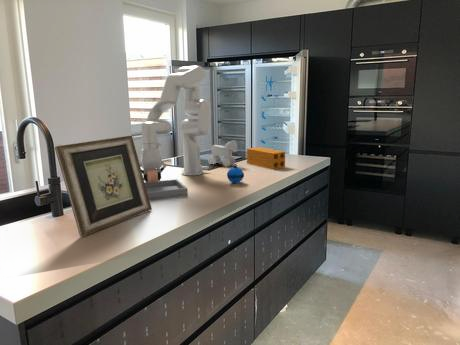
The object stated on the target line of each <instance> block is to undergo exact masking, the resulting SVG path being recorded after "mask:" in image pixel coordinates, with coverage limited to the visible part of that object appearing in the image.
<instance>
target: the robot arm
mask: <svg viewBox="0 0 460 345" xmlns="http://www.w3.org/2000/svg"><path fill="white" fill-rule="evenodd" d="M205 76H206V71H205V69H204V67H202V66H201V65H189V66H182V67H181V66H180V67H179V68H177V70H176V72H175V73H170V74H168V75H167V76H166V77H165V82H164V85H163V89H162V92H161V95H160V98H159V99H158V101H157V102H156V103H155V104H154V105H153V107H151V109H150V111H149V113H148V115H147V119H146V121H143V122H142V123H141V125H140V126H141V139H142V140H141V141H142V149H141V150H140V161H139V164H140V167H141V171H142V175H143V178H144V182H147V174H146V171H147V169H154V168H156V169H158V180H159V181H161V179H162V172H163V171H164V170H165V169H166V168H167V167H168V164H166V162H164V161H163V160H162V154H161V149H160V147H161V146H162V145H161V143H159V142H158V141H159V140H158V139H159V138H158V136H166V135H169V134H170V133H171V132H172V130H173V127H172V124H171V123H170V121H167V120H161V119H160V118H161V117H162V115H163V114H164V113H166V112H167V111H168V110H170V109H172V108H173V107H175V106H176V105H177V102H178V98H179V94H180V93H181V92H180V91H181V90H184V105H183V106H184V108H183V109H184V110H183V112H184V114H185V115H186V116H188V117H197V118H186V119H183V120H181V123H180V126H179V127H180V128H179V129H180V133H181V137H182V152H183V170H181V174H182V175H183V176H201V175H203V174H204V170H209V165H204V166H203V165H201V147H200V146H201V144H200V140H199V137H206V136H208V135H209V134H210V131H211V130H210V129H211V119H212V107H211V103H210V102H209V101H208V100H207V99H204V98H203V99H202V98H201V88H200V86H199V84H201V82H203V81H204V79H205Z"/></svg>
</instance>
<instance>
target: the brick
mask: <svg viewBox="0 0 460 345" xmlns="http://www.w3.org/2000/svg"><path fill="white" fill-rule="evenodd" d="M246 164H248V165H252V166H256V167H260V168H265V169H269V170H278V169H283V168H284V169H285V168H286V151H285V150H284V151H282V150H277V149H271V148H266V147H260V146H259V147H251V148H250V147H249V148H246Z"/></svg>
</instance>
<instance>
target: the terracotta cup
mask: <svg viewBox="0 0 460 345" xmlns="http://www.w3.org/2000/svg"><path fill="white" fill-rule="evenodd" d="M146 174H147V182H155V181H159V180H158V169H157V168H154V169H147V171H146Z"/></svg>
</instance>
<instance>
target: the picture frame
mask: <svg viewBox="0 0 460 345" xmlns="http://www.w3.org/2000/svg"><path fill="white" fill-rule="evenodd" d="M54 150H55V153H56V157H57V160H58V164H59V167H60V171H61V174H62V178H63V180H64V184H65V185H64V186H65V188H66V192H67V196H68V199H69V203H70V205H71V209H72V213H73V217H74V220H75V224H76V227H77V230H78V235H79V237H82V238H83V237H84V236H86V235H90V234H93V233H95V232H97V231H100V230H102V229H105V228H108V227H111V226H113V225H116V224H118V223H120V222H121V223H122V222H123V221H125V220H129V219H131V218H133V217H136V216H139V215H141V214H144V213H146V212H149V211H152V209H153V208H152V205H151V200H149V197H148V193H147V189H146V186H145V180H144V176H143V173H142V171H141V169H142V167H140V161H139V156H138V152H137V150H136V146H135V142H134V139H133V135H126V136H119V137H112V138H106V139H98V140H90V141H84V142H79V143H70V144H64V145H57V146H56V145H55V147H54Z"/></svg>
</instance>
